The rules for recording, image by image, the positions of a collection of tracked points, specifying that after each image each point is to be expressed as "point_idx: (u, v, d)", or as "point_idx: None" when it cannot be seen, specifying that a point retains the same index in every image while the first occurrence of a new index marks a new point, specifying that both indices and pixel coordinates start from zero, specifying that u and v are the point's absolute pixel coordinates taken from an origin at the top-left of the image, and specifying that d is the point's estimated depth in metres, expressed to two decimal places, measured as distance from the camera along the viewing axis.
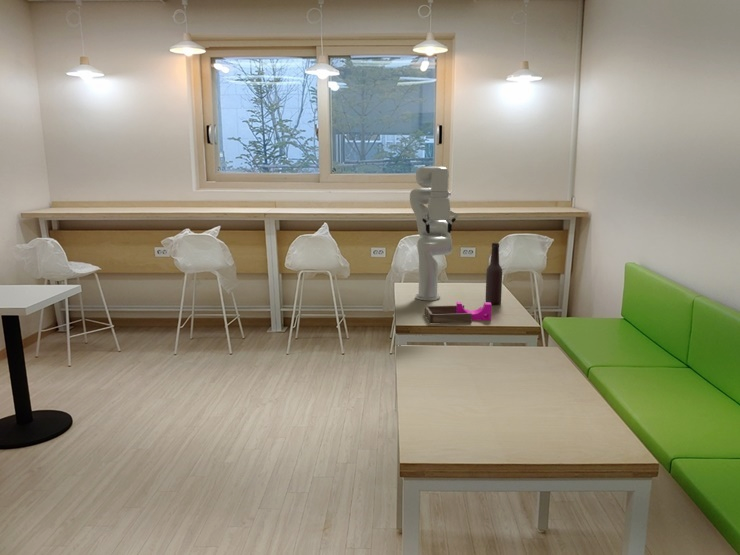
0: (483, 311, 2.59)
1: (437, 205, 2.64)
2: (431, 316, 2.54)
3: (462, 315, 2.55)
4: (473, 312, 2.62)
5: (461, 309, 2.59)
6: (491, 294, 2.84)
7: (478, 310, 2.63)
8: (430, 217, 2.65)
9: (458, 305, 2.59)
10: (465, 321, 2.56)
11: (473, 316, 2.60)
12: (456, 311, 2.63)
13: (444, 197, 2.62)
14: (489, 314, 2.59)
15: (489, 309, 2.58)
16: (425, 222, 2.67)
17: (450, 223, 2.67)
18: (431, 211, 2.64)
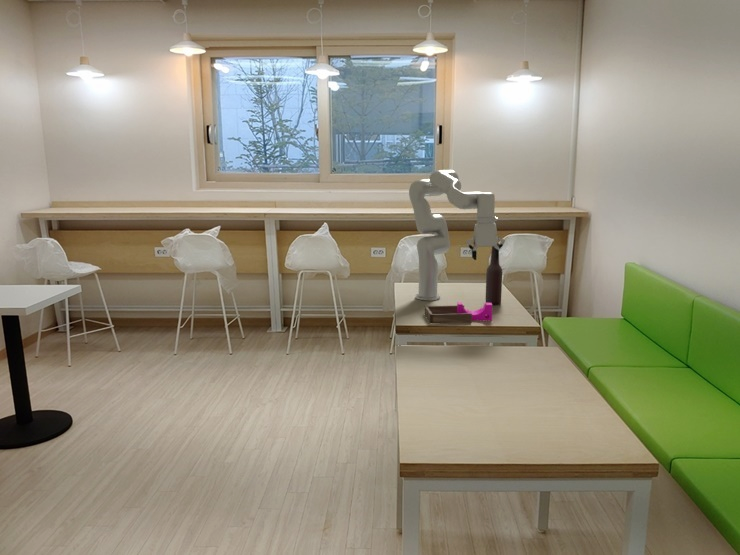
0: (484, 311, 2.58)
1: (484, 231, 2.57)
2: (431, 316, 2.54)
3: (462, 315, 2.55)
4: (474, 313, 2.61)
5: (462, 310, 2.58)
6: (491, 294, 2.84)
7: (479, 310, 2.62)
8: (477, 243, 2.58)
9: (459, 306, 2.58)
10: (465, 321, 2.56)
11: (474, 316, 2.59)
12: (457, 312, 2.62)
13: (491, 223, 2.56)
14: (490, 314, 2.58)
15: (490, 309, 2.58)
16: (471, 248, 2.60)
17: (497, 249, 2.60)
18: (478, 237, 2.58)
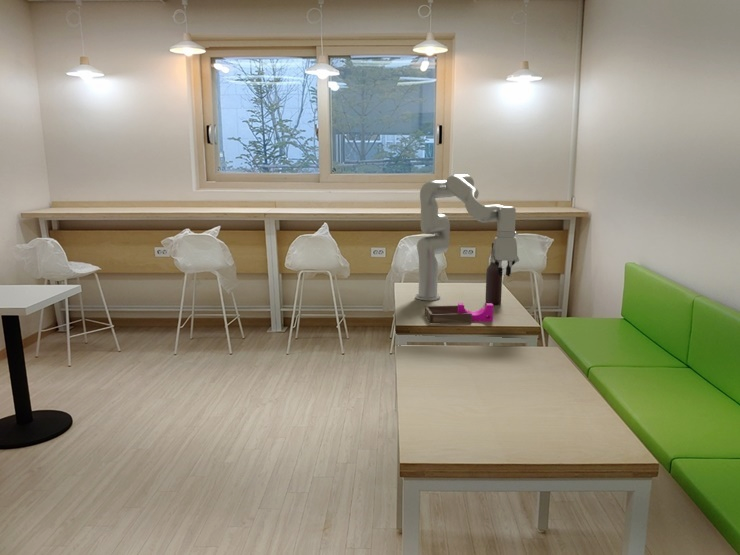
0: (485, 312, 2.57)
1: (504, 245, 2.55)
2: (431, 316, 2.54)
3: (462, 315, 2.55)
4: (475, 313, 2.60)
5: (463, 310, 2.58)
6: (491, 294, 2.84)
7: (480, 311, 2.61)
8: (496, 257, 2.56)
9: (460, 306, 2.57)
10: (465, 321, 2.56)
11: (475, 317, 2.58)
12: None
13: (511, 237, 2.54)
14: (491, 315, 2.57)
15: (491, 310, 2.57)
16: (498, 265, 2.58)
17: (509, 265, 2.59)
18: (498, 251, 2.56)
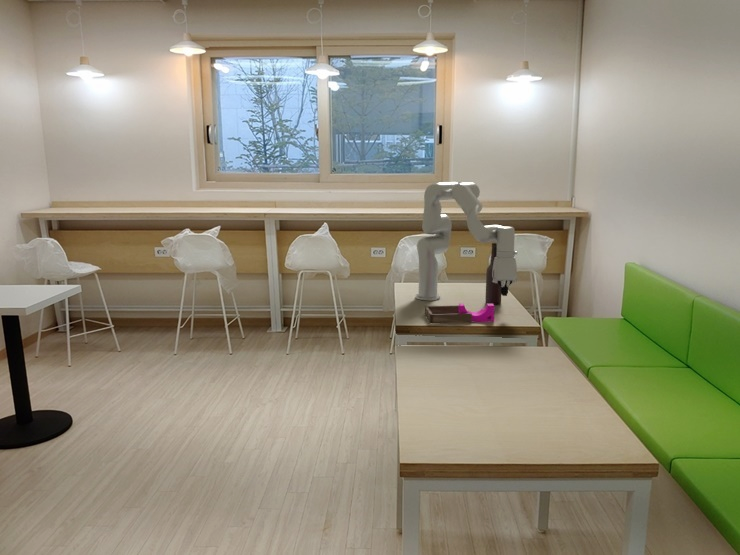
0: (486, 312, 2.56)
1: (503, 265, 2.57)
2: (431, 316, 2.54)
3: (462, 315, 2.55)
4: (475, 314, 2.60)
5: (464, 311, 2.56)
6: (491, 294, 2.84)
7: (480, 311, 2.60)
8: (496, 277, 2.58)
9: (461, 307, 2.56)
10: (465, 321, 2.56)
11: (476, 317, 2.57)
12: None
13: (511, 257, 2.55)
14: (492, 315, 2.57)
15: (492, 310, 2.56)
16: (500, 285, 2.60)
17: (506, 285, 2.60)
18: (498, 271, 2.57)
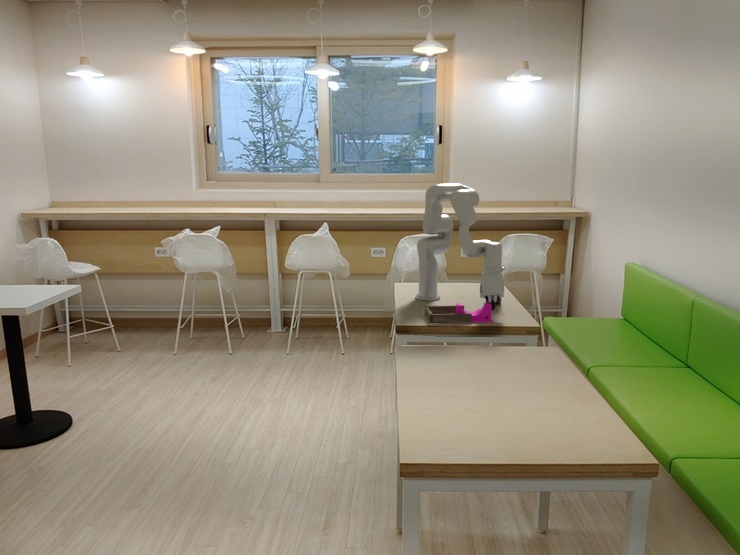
0: (483, 312, 2.56)
1: (491, 280, 2.58)
2: (431, 316, 2.54)
3: (462, 315, 2.55)
4: (473, 313, 2.59)
5: (461, 311, 2.56)
6: None
7: (478, 311, 2.60)
8: (484, 293, 2.59)
9: (458, 307, 2.56)
10: (465, 321, 2.56)
11: (473, 317, 2.57)
12: None
13: (498, 273, 2.57)
14: (489, 315, 2.56)
15: (489, 310, 2.56)
16: (488, 300, 2.61)
17: (494, 300, 2.61)
18: (485, 287, 2.58)
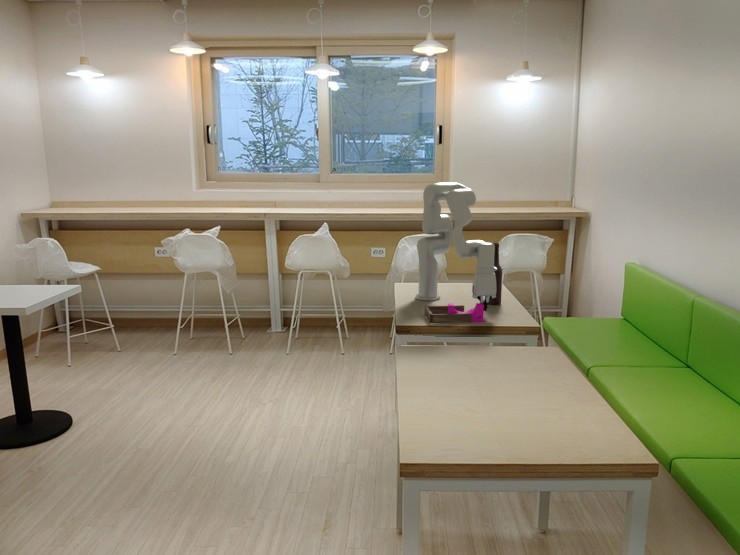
0: (475, 312, 2.56)
1: (483, 281, 2.58)
2: (431, 316, 2.54)
3: (462, 315, 2.55)
4: None
5: (453, 311, 2.56)
6: None
7: (470, 311, 2.60)
8: (476, 293, 2.59)
9: (450, 307, 2.56)
10: (465, 321, 2.56)
11: None
12: (448, 313, 2.59)
13: (491, 273, 2.57)
14: (481, 315, 2.56)
15: (481, 310, 2.56)
16: (480, 300, 2.61)
17: (486, 300, 2.61)
18: (477, 287, 2.58)
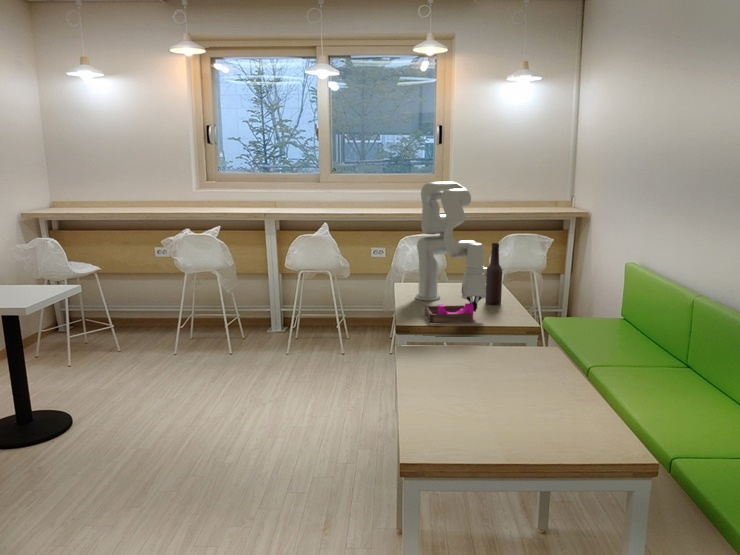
0: (465, 312, 2.56)
1: (472, 281, 2.57)
2: (431, 316, 2.54)
3: (462, 315, 2.55)
4: None
5: (444, 312, 2.55)
6: (491, 294, 2.84)
7: (459, 312, 2.60)
8: (465, 293, 2.58)
9: (441, 308, 2.55)
10: (465, 321, 2.56)
11: None
12: None
13: (480, 273, 2.56)
14: None
15: (471, 310, 2.56)
16: (469, 300, 2.61)
17: (475, 301, 2.61)
18: (467, 287, 2.58)
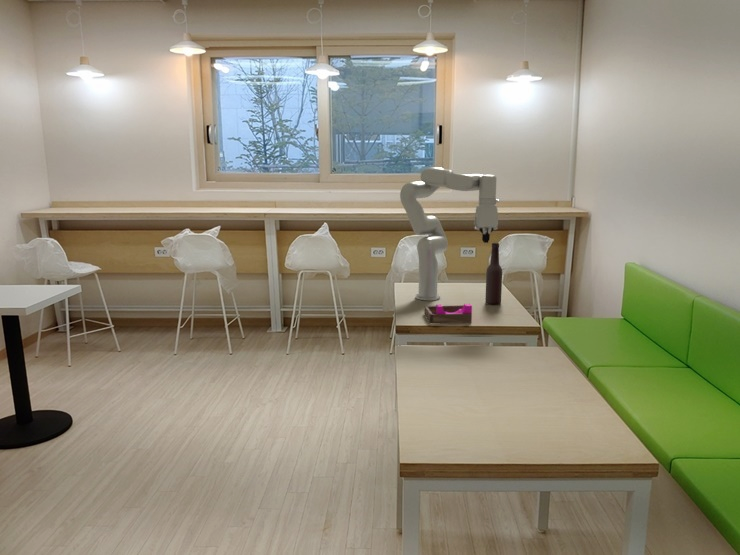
0: None
1: (485, 212, 2.65)
2: (431, 316, 2.54)
3: (462, 315, 2.55)
4: None
5: (442, 312, 2.55)
6: (491, 294, 2.84)
7: (458, 312, 2.60)
8: (478, 224, 2.66)
9: (439, 308, 2.54)
10: (465, 321, 2.56)
11: None
12: None
13: (492, 204, 2.64)
14: None
15: (470, 311, 2.56)
16: (482, 232, 2.69)
17: (488, 232, 2.68)
18: (479, 218, 2.66)
